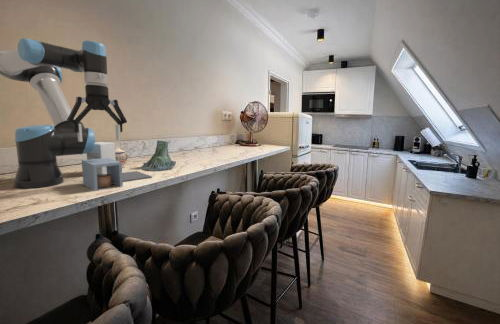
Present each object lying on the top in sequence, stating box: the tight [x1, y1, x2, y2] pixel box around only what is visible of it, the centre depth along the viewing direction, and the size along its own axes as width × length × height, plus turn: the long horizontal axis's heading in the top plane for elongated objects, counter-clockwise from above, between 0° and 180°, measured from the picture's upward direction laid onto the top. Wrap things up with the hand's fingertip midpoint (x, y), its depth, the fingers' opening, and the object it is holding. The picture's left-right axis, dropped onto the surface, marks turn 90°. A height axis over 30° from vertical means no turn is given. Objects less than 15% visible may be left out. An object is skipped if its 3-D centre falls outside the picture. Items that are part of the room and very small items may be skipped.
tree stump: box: [140, 140, 177, 172], centre depth 141 cm, size 18×20×18 cm
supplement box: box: [86, 141, 116, 174], centre depth 122 cm, size 9×9×15 cm
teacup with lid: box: [115, 145, 129, 169], centre depth 138 cm, size 12×9×12 cm
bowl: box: [97, 174, 113, 188], centre depth 100 cm, size 7×7×4 cm
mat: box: [122, 170, 153, 183], centre depth 116 cm, size 16×14×1 cm
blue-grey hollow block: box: [81, 158, 124, 192], centre depth 100 cm, size 14×10×10 cm
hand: (100, 140), depth 98 cm, fingers open, 13 cm apart
